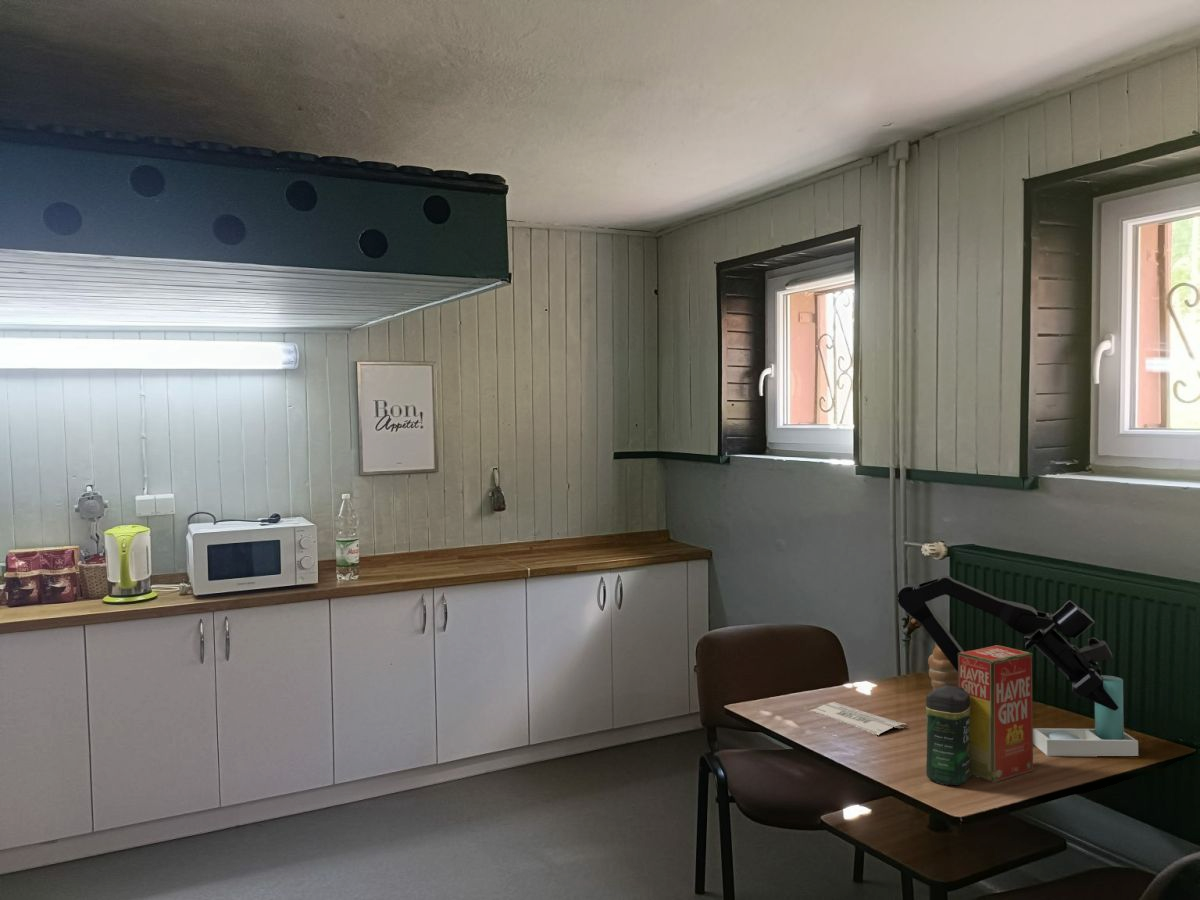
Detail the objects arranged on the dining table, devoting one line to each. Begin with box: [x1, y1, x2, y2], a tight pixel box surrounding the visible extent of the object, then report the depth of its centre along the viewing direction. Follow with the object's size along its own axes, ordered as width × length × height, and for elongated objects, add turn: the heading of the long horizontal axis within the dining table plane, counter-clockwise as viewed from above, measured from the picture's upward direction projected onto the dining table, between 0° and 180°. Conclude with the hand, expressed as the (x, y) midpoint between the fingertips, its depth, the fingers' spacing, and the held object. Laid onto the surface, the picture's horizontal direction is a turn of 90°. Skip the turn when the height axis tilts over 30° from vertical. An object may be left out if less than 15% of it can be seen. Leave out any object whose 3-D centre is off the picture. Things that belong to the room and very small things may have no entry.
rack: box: [1033, 727, 1139, 757], centre depth 195 cm, size 19×8×4 cm, turn 85°
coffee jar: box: [925, 685, 972, 786], centre depth 181 cm, size 10×8×19 cm
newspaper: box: [810, 701, 907, 736], centre depth 220 cm, size 23×12×2 cm, turn 33°
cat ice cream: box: [927, 642, 958, 690], centre depth 226 cm, size 9×8×18 cm
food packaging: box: [958, 644, 1034, 783], centre depth 185 cm, size 13×9×25 cm
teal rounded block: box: [1094, 674, 1125, 740], centre depth 195 cm, size 6×6×13 cm
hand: (1115, 705), depth 194 cm, fingers closed on teal rounded block, 5 cm apart
